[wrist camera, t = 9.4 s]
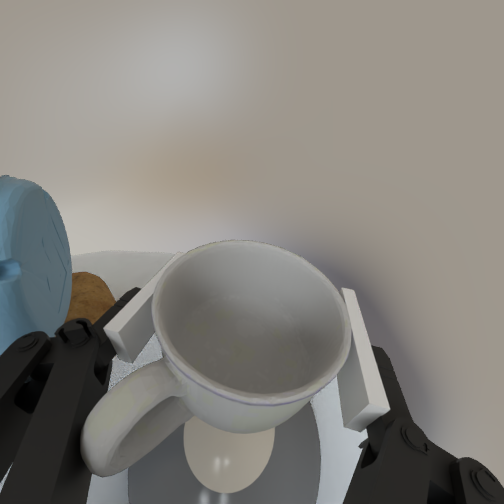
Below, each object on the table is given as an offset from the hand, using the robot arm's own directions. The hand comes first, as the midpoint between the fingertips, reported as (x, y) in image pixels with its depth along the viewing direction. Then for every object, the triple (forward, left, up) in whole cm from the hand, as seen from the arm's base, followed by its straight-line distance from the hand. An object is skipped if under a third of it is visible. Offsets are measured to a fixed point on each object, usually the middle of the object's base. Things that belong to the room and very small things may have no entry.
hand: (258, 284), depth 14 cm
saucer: (+2, -3, -17) cm, 17 cm away
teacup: (+2, -3, -6) cm, 7 cm away
